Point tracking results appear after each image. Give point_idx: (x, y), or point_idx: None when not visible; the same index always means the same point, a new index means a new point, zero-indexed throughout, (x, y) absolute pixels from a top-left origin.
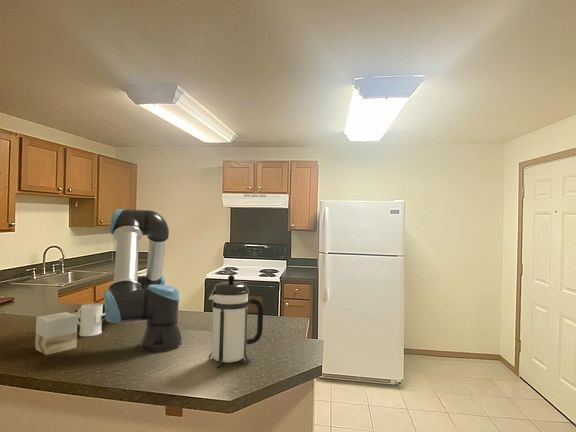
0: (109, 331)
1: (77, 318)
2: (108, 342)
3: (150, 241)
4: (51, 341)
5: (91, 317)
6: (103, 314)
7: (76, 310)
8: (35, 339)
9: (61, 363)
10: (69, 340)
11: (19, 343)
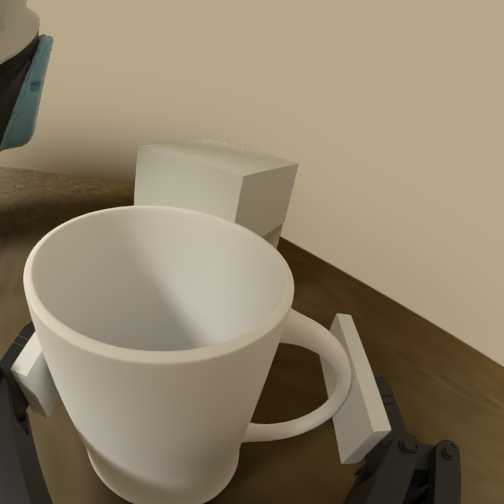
0: (46, 477)
1: (137, 156)
2: (25, 298)
3: None
4: None
5: (124, 293)
6: (35, 339)
7: (446, 447)
8: (276, 243)
9: None
10: None
11: (371, 309)
